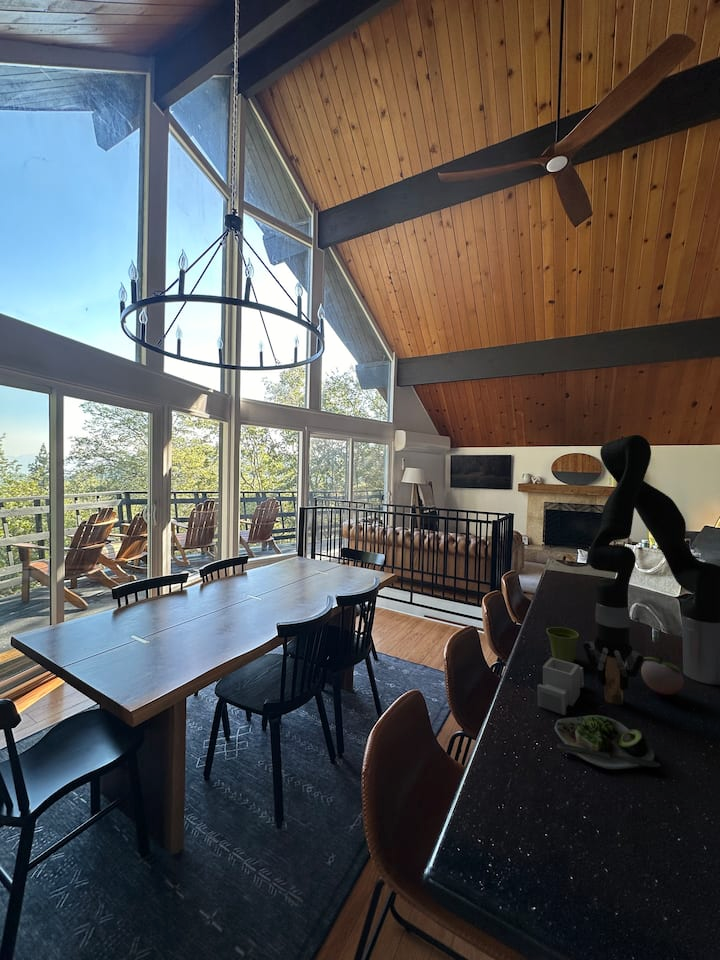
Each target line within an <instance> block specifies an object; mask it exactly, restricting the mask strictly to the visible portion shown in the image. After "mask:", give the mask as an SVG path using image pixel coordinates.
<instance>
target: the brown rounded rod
mask: <svg viewBox="0 0 720 960" xmlns="http://www.w3.org/2000/svg"><path fill="white" fill-rule="evenodd" d="M604 675H605V685H604V699H605V701H606V702H608V703H609V704H611V705H614V706H622V705H624V691H622V685H621V676H622V673H621V669H620V668H619V665H618V662H617V658H616V657H613V656H608V655H607V657H606V660H605V664H604Z"/></svg>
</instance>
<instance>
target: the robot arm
mask: <svg viewBox="0 0 720 960" xmlns="http://www.w3.org/2000/svg"><path fill="white" fill-rule="evenodd" d="M651 448H652V447H651V445H650V442H649V441H648V439H646V437H644V436H642V435H641V434H640V435H639V434H632V435H629V436H625V437H622V438H621V437H620V438H617V439H615V440H611V441H609V442H606V443H604V444H603V445H602V446H601V448H600V450H599V451H600V452H599V453H600V459H601V461H602V464H603V465H604V467H605V469H606V470H607V471H608V473H609V474H610V475H611V477H612V478H613V479H614V481H615V482H616V483H617V484H616V486H615V488H614V489H613V491H612V492H611V493H610V494H609V496H608V497H607V500H606V501H605V503H604V506H603V510H602V516H601V520H600V527H599V529H598V531H597V534H596V536H595V538H594V539H593V541H592V542H591V545H590V547H589V549H588V551H587V563H588V564H589V566H590V567H591V568H592V569H593V570H596V571H602V572H609V573H617V574H616V577H615V578H610V579H609V578H607V579H606V578H605V579H600V580H598V581H597V582H596V585H595V592H596V593H595V594H596V595H595V599H596V604H595V615H594V617H595V618H594V619H595V639H594V640H593V641H589V640H586V641H584V643H583V644H582V646H583V649H584V651H585V654H586V656H587V660H588V663H589V665H590V666H591V667H595V668H596V669H597V671H598V673H597V674H598V675H597V676H598V677H597V678H598V682H600V684H601V685H603V686H605V675H604V664H605V660H606V657H607V655H608V656H613V657H616V658H617V662H618V665H619V668H620V669H621V673H622V676H621V685H622V691H623V692H626V690H628V689H629V687H630V677H632V678H636V677H637V674H638V672H639V670H640V669H641V667H642V664H643V661H644V660H645V659H644V657H646V656H645V653H644V652H638V651H635V650H633V647H632V645H631V633H630V632H631V631H630V630H631V629H630V628H631V626H630V625H631V624H630V623H631V622H630V610H629V587H630V586H629V585H630V582H631V577H632V574H633V572H634V569H635V565H636V563H637V561H636V560H637V558H636V557H637V556H636V554H635V552H634V550H633V549H632V548H631V547H630V546H626V545H621V544H619V545H618V544H617V545H616V544H611V543H612V542H614V541H620V540H621V541H622V540H626V539H629V538H630V537H631V534H632V528H633V521H634V513H635V511H636V512H637V514H638V516H639V517H640V519H641V520H642V522H643V524H644V526H645V528H646V529H647V531H648V532H649V533H650V534H651V536H652V538H653V540H654V541H655V543H656V545H657V546H658V548H659V549H660V551H661V553H662V554H663V557H664V558H665V560H666V563H667V565H668V568H669V569H670V571H671V574H672V576H673V578H674V579H675V581H676V583H677V584H678V585H679V586H680V587H681V588H683V589H685V590H687V591H690V592H693V593H695V595H694V601H693V602H688V603H684V604H683V605H682V608H681V615H682V616H681V617H682V618H681V619H682V620H681V621H682V622H681V623H682V624H681V625H682V628H681V629H682V662H683V663H682V673H683V674H684V676H686V677H688V678H689V679H691V680H693V681H696V682H699V683H703V684H707V685H713V686H714V685H715V686H717V685H718V686H720V565H717V564H715V563H714V564H713V563H711V562H710V563H709V562H706V561H702V560H699V559H697V558H696V556H695V555H694V554H693V552H692V551H691V550H690V548H689V546H688V545H687V542H686V534H687V533H686V531H687V523H686V520H685V518H684V515H683V513H682V512H681V511H680V508H678V506H677V504H676V503H675V501H674V500H673V499H672V498H671V497H670V496H668V495H667V494H666V493H664V492H663V491H661V490H659V489H658V488H656V487H654V486H652V485H651V484H649V483H648V482H646V481H645V476H646V474H647V471H648V469H649V466H650V462H651V459H652V458H651V457H652V449H651ZM595 648H596V650H597V651H598V652H599V654H600V657H599V661H598V660H597V657H596V654H595V652H594V650H595ZM630 655H631V656H632V660H633V661H634V664H633V666H632V669H629V666H628V662H627V659H628V657H629V656H630Z"/></svg>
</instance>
